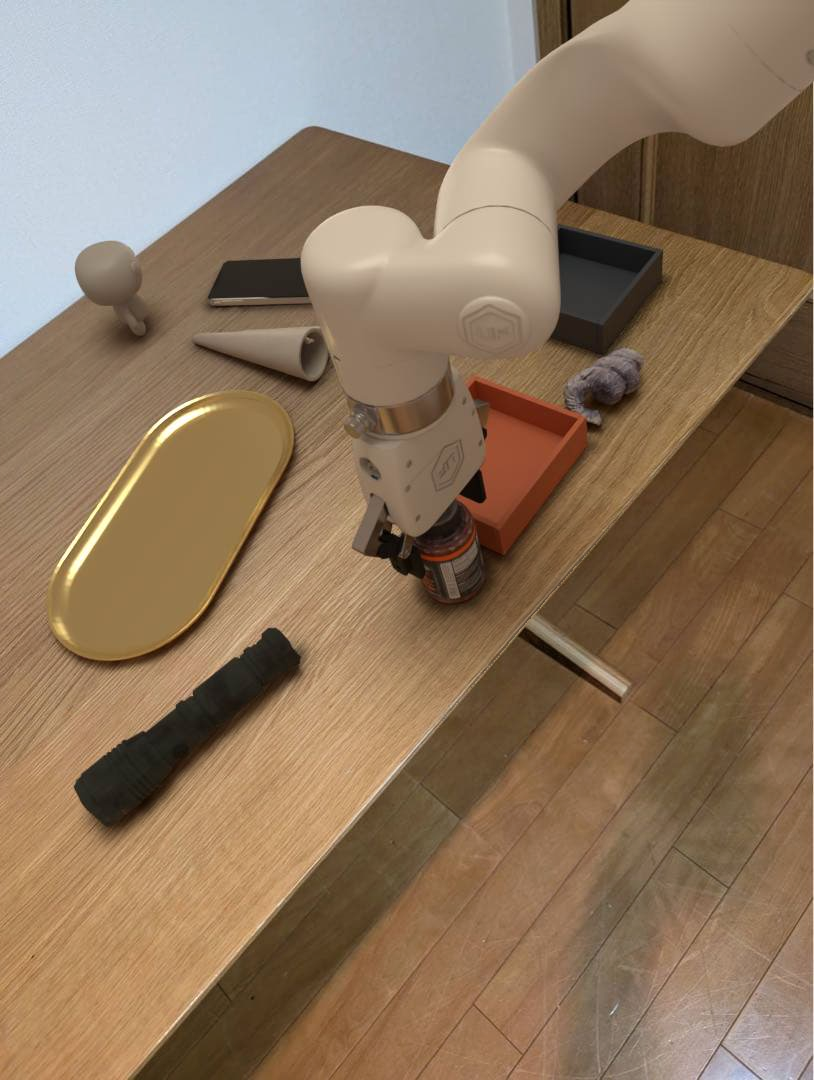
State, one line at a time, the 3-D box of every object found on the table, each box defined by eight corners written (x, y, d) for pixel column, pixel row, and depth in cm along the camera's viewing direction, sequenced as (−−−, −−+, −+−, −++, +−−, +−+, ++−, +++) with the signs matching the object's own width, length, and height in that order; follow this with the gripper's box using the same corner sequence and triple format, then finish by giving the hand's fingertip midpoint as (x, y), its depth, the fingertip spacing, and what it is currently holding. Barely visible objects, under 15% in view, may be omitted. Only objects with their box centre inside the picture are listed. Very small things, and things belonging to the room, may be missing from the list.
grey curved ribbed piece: (580, 439, 87) (636, 380, 90) (608, 422, 82) (666, 361, 85) (545, 400, 86) (603, 343, 90) (571, 381, 81) (631, 321, 85)
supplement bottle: (410, 574, 80) (384, 500, 71) (463, 541, 81) (444, 465, 72) (444, 618, 76) (421, 547, 67) (499, 583, 77) (483, 508, 68)
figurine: (174, 335, 108) (131, 256, 99) (119, 358, 108) (70, 281, 98) (162, 301, 113) (120, 222, 103) (109, 323, 113) (62, 246, 103)
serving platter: (18, 641, 84) (9, 633, 83) (187, 390, 101) (181, 380, 100) (172, 688, 78) (164, 680, 76) (325, 410, 95) (321, 401, 94)
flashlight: (92, 793, 73) (62, 773, 69) (281, 638, 79) (263, 611, 75) (118, 836, 70) (88, 817, 66) (312, 672, 76) (295, 646, 72)
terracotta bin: (587, 445, 84) (586, 416, 81) (503, 555, 79) (499, 530, 76) (478, 402, 91) (473, 374, 88) (393, 502, 85) (384, 476, 82)
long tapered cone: (158, 345, 101) (292, 350, 92) (187, 315, 105) (318, 316, 96) (179, 384, 105) (309, 392, 96) (206, 353, 108) (334, 358, 100)
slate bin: (662, 280, 96) (663, 249, 93) (602, 354, 91) (602, 325, 88) (560, 252, 102) (558, 223, 99) (500, 320, 98) (496, 292, 94)
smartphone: (315, 297, 105) (205, 300, 109) (317, 305, 106) (209, 307, 110) (330, 255, 110) (224, 259, 113) (332, 263, 111) (227, 267, 114)
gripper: (363, 494, 54) (415, 628, 68) (513, 322, 60) (532, 477, 74) (279, 452, 57) (345, 588, 71) (429, 295, 64) (462, 448, 78)
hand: (440, 531), depth 73 cm, fingers open, 8 cm apart
